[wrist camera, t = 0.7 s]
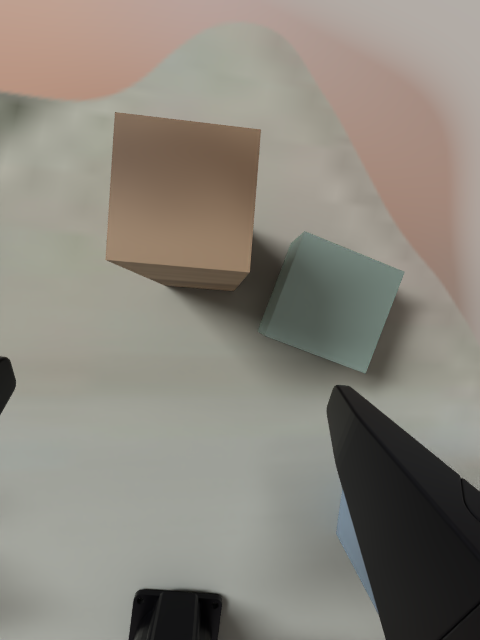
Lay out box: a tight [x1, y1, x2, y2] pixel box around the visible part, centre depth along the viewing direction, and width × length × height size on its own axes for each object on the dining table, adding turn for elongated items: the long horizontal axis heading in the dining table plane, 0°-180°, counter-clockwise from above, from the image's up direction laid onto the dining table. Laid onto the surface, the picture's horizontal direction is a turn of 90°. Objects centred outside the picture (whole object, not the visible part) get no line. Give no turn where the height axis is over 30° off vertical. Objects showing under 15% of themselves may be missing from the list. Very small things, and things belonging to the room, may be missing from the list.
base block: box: [258, 231, 404, 374], centre depth 22 cm, size 7×7×4 cm
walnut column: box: [106, 112, 261, 291], centre depth 17 cm, size 5×5×12 cm
